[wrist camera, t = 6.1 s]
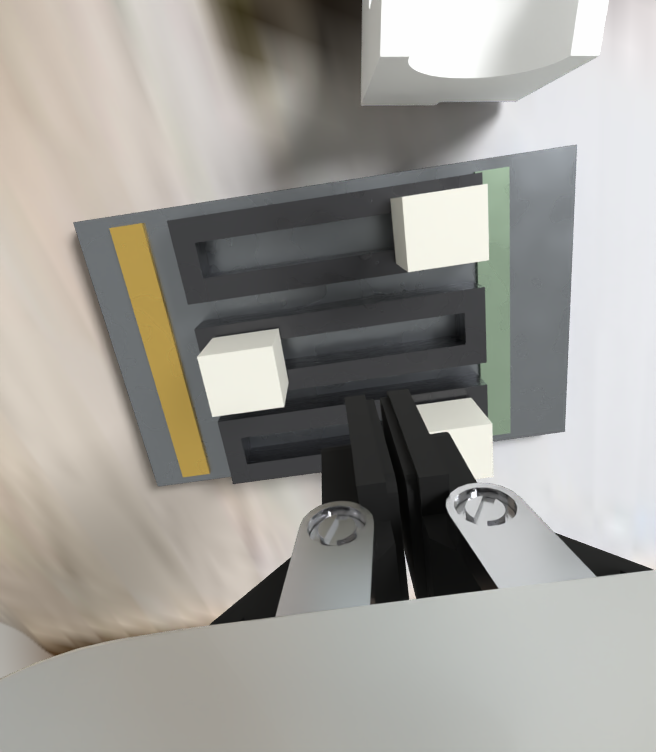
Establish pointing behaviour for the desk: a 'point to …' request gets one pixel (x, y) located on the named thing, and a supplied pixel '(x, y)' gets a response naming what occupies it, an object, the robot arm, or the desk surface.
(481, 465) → the breaker handle
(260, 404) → the handle
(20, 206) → the desk surface
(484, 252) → the block
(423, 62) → the bracket
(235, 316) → the breaker panel
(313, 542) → the robot arm
